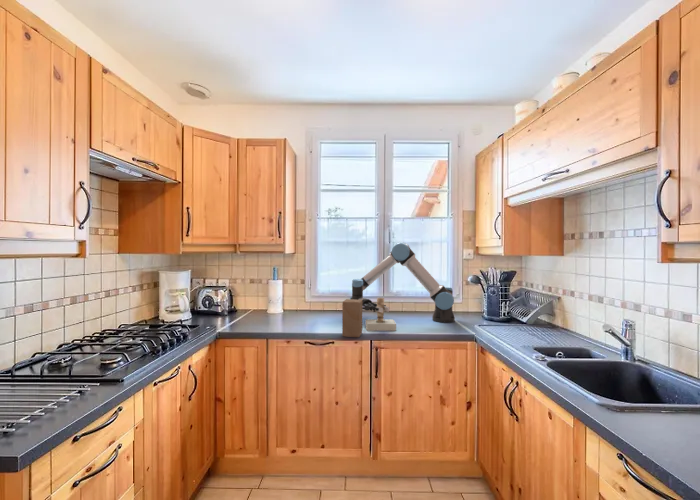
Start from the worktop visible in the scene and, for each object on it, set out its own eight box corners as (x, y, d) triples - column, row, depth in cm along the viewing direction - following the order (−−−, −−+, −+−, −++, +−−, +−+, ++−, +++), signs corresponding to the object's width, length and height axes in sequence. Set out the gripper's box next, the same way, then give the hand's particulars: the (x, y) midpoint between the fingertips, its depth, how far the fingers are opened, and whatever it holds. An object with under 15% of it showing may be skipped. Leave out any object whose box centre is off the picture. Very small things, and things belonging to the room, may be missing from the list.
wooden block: (359, 337, 206) (359, 302, 205) (342, 336, 208) (342, 301, 207) (362, 333, 216) (362, 299, 215) (345, 332, 218) (346, 299, 217)
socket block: (393, 325, 236) (393, 319, 236) (396, 330, 223) (396, 324, 223) (365, 325, 235) (365, 319, 235) (366, 330, 222) (366, 323, 222)
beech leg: (383, 322, 231) (383, 297, 231) (384, 324, 227) (384, 298, 226) (376, 322, 231) (376, 297, 231) (377, 324, 227) (377, 298, 226)
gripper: (375, 308, 249) (396, 314, 229) (353, 310, 240) (373, 317, 220) (375, 297, 249) (396, 302, 228) (353, 299, 240) (374, 305, 220)
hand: (385, 309), depth 224 cm, fingers closed on beech leg, 4 cm apart
